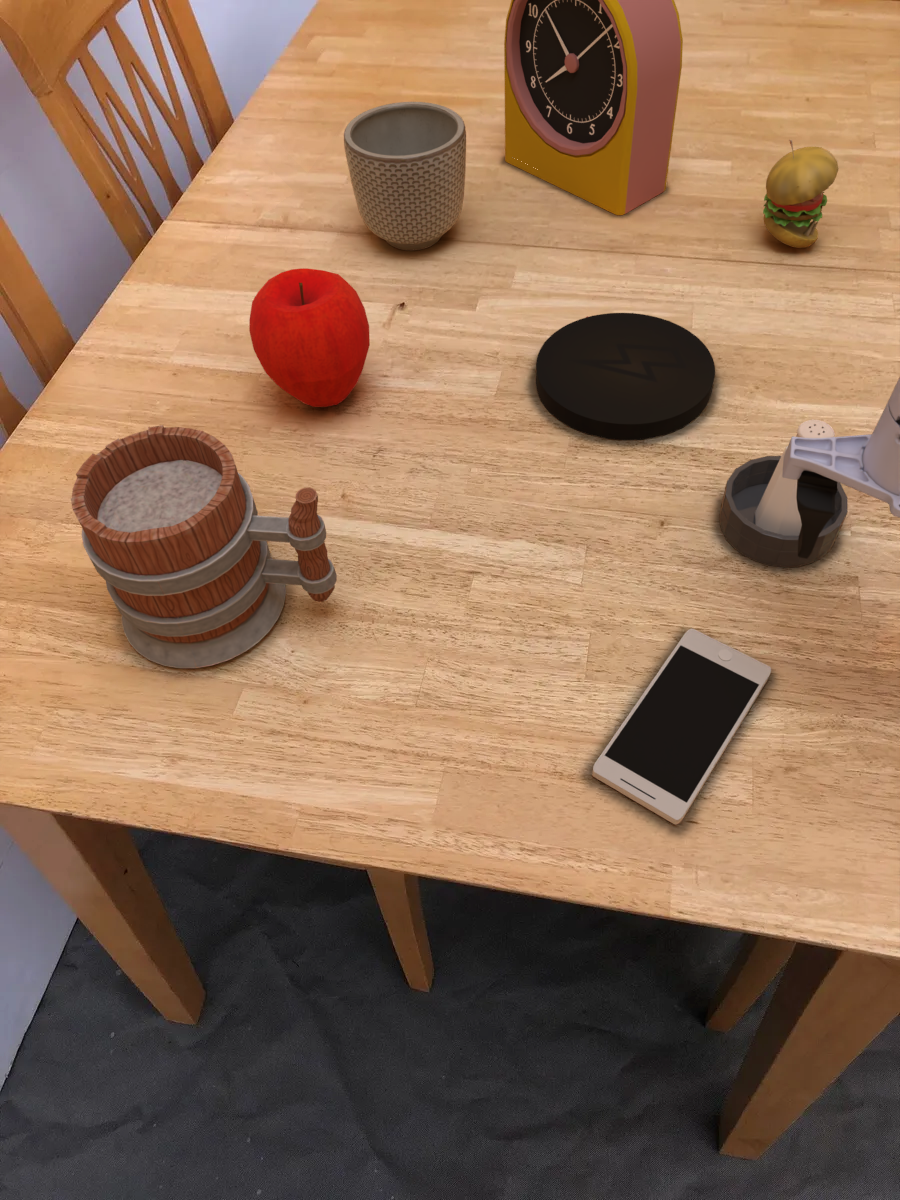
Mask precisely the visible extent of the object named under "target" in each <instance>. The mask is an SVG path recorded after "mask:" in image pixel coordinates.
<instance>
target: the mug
mask: <svg viewBox="0 0 900 1200" xmlns="http://www.w3.org/2000/svg"><path fill="white" fill-rule="evenodd" d="M75 476H76V479H75V482H74V485H73V488H72V491H71V492H72V493H71V497H70V502H71V508H72V511H73V513H74V514H75V517H76V519H77V521H78V523H79V524H80V526H81V538H82V545H83V548H84V550H85V552H86V554H87V556H88V558H89V560H90V562H91V564H92V565H93V567H94V569H95V571H96V572H97V573H98V575H100V577H101V578H102V579H103V580H104V581H105V585H106V591H107V592H108V594H109V596H110V598H111V600H112V602H113V604H114V605H115V607H116V609H117V611H118V612H119V614H120V615H121V625H122V630H123V633H124V635H125V637H126V639H127V641H128V643H129V644H130V646H132V648H133V649H134V650H135V651H136V652H137V653H138V654H139V655H141V656H143V658H145V659H147V660H148V661H151V662H153V663H156V664H158V665H161V666H164V667H170V668H175V669H199V668H205V667H210V666H214V665H215V666H216V665H219V664H222V663H225V662H227V661H230V660H232V659H234V658H235V657H238V656H240V655H242V654H244V653H245V652H247V651H248V650H250V649H252V648H253V647H254V646H255V645H256V644H258V643H260V641H262V639H263V638H264V637H265V636H266V635H267V634H269V633H270V631H272V629H273V627H274V625H275V624H276V622H277V621H278V620H279V618H280V616H281V613H282V611H283V608H284V605H285V600H286V596H287V595H286V594H287V591H286V590H287V589H286V585H287V586H288V585H290V586H301V588H302V589H303V590H304V591H305V592H307V594H308V596H309V597H310V598H311V599H312V601H314V602H316V603H323V602H325V601H327V600H328V599H329V598H330V597H331V595H332V594H333V592H334V590H335V588H336V583H337V581H338V579H337V578H338V575H337V572H336V568H335V566H334V564H333V562H332V560H331V559H330V558H329V556H328V548H327V546H326V542H325V541H326V539H327V529H326V525H325V521H324V519H323V518H322V516H320V515H319V514H318V504H319V503H318V502H319V495H318V492H317V490H315V488H313V487H303V488H300V489H299V490H297V492H296V493H295V495H294V497H295V501H294V503H293V504H292V506H291V508H290V514H289V516H269V515H258V509H257V506H256V503H255V499H254V496H253V493H252V490H251V487H250V485H249V484H248V482H247V480H246V479H245V478H244V476H243V475H242V474H240V473H239V471H238V468H237V465H236V462H235V459H234V456H233V454H232V452H231V451H230V450H229V448H228V447H227V446H226V444H225V443H223V442H222V441H220V440H219V439H218V438H217V437H216V436H213V435H212V434H210V433H208V432H206V431H203V430H200V429H197V428H191V427H182V426H164V424H160V425H155V426H148V427H147V430H143V431H138V432H135V433H132V434H130V435H128V436H124V437H123V438H119V437H118V438H117V439H114V440H113V441H111V442H109V443H108V444H106V445H105V448H103V449H101V450H100V452H98V453H96V454H95V453H92V454H91V455H90V456H88V458H86V460H84V462H83V463H82V464H81V466H80V468H79V469H78V470H77V471H76V473H75ZM268 542H271V543H272V542H273V543H289V544H290V547H292V548H294V550H295V553H296V554H297V560H293V559H278V558H273V557H272V554H271V550H270V547H269V543H268Z"/></svg>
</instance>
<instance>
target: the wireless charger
mask: <svg viewBox="0 0 900 1200" xmlns="http://www.w3.org/2000/svg"><path fill="white" fill-rule="evenodd" d="M715 377H716V365H715V361H714V358H713V355H712V353H711V352H710V350H709V348H708V347H707V346H706V344H705V343H704V342H703V341H702V340H701V339H700V338H699V337H698V336H696V334H695V333H693V332H691V331H690V330H689V329H687V328H685V327H683V326H681V325H679V324H677V323H675V322H672V321H670V320H667V319H664V318H661V317H657V316H653V315H649V314H643V313H634V312H609V313H602V314H594V315H589V316H587V317H583V318H579V319H577V320H574V321H572V322H570V323H568V324H565V325H564V326H562V327H560V328H559V329H557V330H556V331H555V332H553V333H552V334H551V335H550V336H549V337H548V338H547V339H546V340H545V342H544V343H543V344H542V345H541V347H540V349H539V352H538V354H537V357H536V362H535V388H536V393H537V395H538V398H539V399H540V401H541V403H542V406H544V407H545V409H546V410H547V411H548V412H549V413H550V414H551V415H552V416H553V417H554V418H555V419H556V420H558V421H559V422H560V423H563V424H564V425H566V426H567V427H570V428H571V429H573V430H576V431H578V432H581V433H583V434H585V435H586V434H587V435H589V436H594V437H598V438H601V439H607V440H614V441H615V440H617V441H639V440H648V439H654V438H658V437H663V436H666V435H669V434H672V433H674V432H676V431H679V430H681V429H682V428H684V427H687V426H688V425H689V424H691V423H692V422H693V421H695V420H696V419H697V418H698V417H699V416H700V415H702V413H703V412H704V410H705V409H706V407H707V406H708V404H709V403H710V399H711V397H712V391H713V388H714V387H713V386H714V383H715Z"/></svg>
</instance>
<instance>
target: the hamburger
mask: <svg viewBox="0 0 900 1200" xmlns="http://www.w3.org/2000/svg"><path fill="white" fill-rule="evenodd" d="M788 141H789V144H790V146H791V151H789V152H788V153H786V154H785V155H782V157H781V158H779V159H778V160H777V161H776V163H775V164H774V165H773V166H772V168H771V169H770V171H769V173H768V175H767V178H766V181H765V190H766V192H765V195H764V197H763V198H764V199H763V201H764V202H765V203H764V204H763V207H764V208H763V210H762V213H763V214H764V215H763V224H764V226H765V228H766V230H767V231H768V232H769V233H770V235H772V237H774V238H775V239H776V240H777V241H779V242H780V243H783V244H784V245H786V246H790V247H793V248H797V249H804V248H808V247H810V246H811V245H814V244H815V242H816V241H817V240H818V237H819V231H818V230H817V229H818V228H816V227H817V225H818V223H819V221H820V220H821V219H822V218H823V213H822V211H823V207H826V205H827V203H828V197H827V195H826V194H824V193H825V191H826V190H828V189H829V187H830V186H831V185H832V184H834V182H835V181H836V178H837V176H838V172H839V164H838V160H837V158H836V157H835V156H834V154H833V153H832V152H831V151H830V150H827V149H825V148H824V147H822V146H821V147H820V146H804V147H800V148H799V147H798V148H796V149H794V145H793V139H788Z"/></svg>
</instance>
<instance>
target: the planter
mask: <svg viewBox="0 0 900 1200" xmlns="http://www.w3.org/2000/svg"><path fill="white" fill-rule="evenodd" d="M343 146H344V147H343V148H344V153H345V159H346V162H347V163H346V164H347V167H348V168H347V169H348V173H349V178H350V182H351V186H352V190H353V195H354V199H355V202H356V206H357V209H358V212H359V215H360V217H361V219H362V221H363V223H364V225H365V226H366V227H367V228H368V230H369V231H370V232H372V233H373V234H374V235H375V236H377V237H378V238H380V239H382V240H383V241H386V243H387V244H388V245H390V246H391V247H393V248H395V249H398V250H402V251H410V252H411V251H420V250H425V249H427V248H430V247H432V246H433V245H435V244H437V243H438V242H439V241H440V239H441V238H442V236H443V235H444V234H446V233H447V232H449V231H450V230H451V229H452V228H453V227H454V225H455V224H456V223H457V221H458V220H459V217H460V215H461V212H462V209H463V204H464V198H465V186H466V185H465V184H466V168H467V167H466V165H467V163H466V162H467V130H466V125H465V121H464V120H463V118H462V117H461V115H460V114H459V113H458V112H456V111H454V110H453V109H451V108H449V107H447V106H445V105H441V104H437V103H433V102H425V101H401V102H392V103H386V104H383V105H379V106H376V107H373V108H369V109H367V110H365V111H362V112H361V113H360V114H358V115H356V116H355V117H354V118H353V119H351V120H350V121H349V122H348V124H347V125H346V126H345V128H344V132H343Z"/></svg>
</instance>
